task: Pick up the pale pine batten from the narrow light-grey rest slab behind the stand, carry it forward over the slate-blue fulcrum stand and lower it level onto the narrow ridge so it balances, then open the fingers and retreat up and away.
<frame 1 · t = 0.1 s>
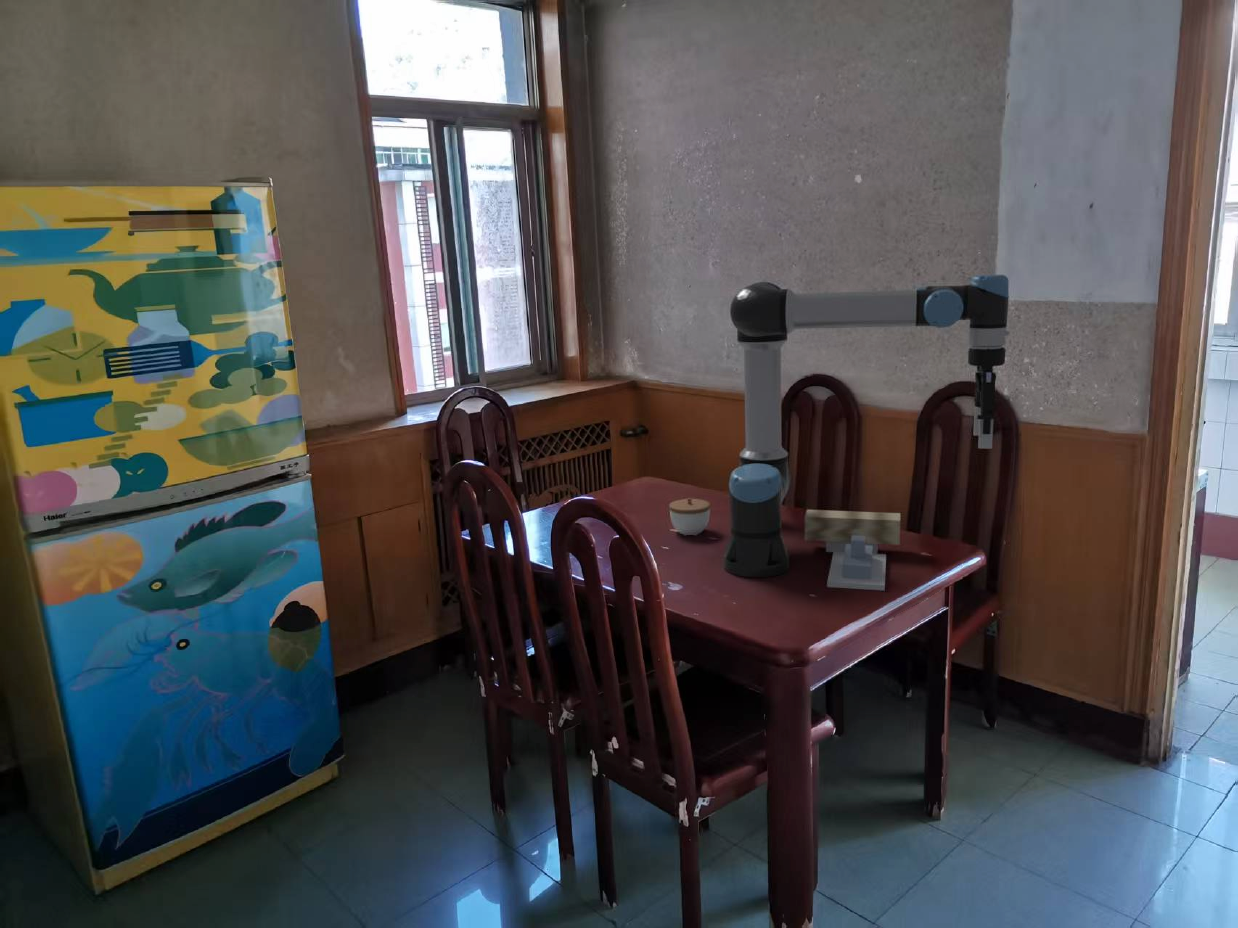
hand: (982, 441, 197), 28 cm above the table, fingers open, 13 cm apart
pine batten: (852, 538, 213), point 3 cm above the table, touching rest slab
rest slab: (851, 550, 214), on the table
milk bottle: (754, 520, 241), on the table
fulcrum stand: (857, 572, 199), on the table
lidded jar: (690, 532, 234), on the table
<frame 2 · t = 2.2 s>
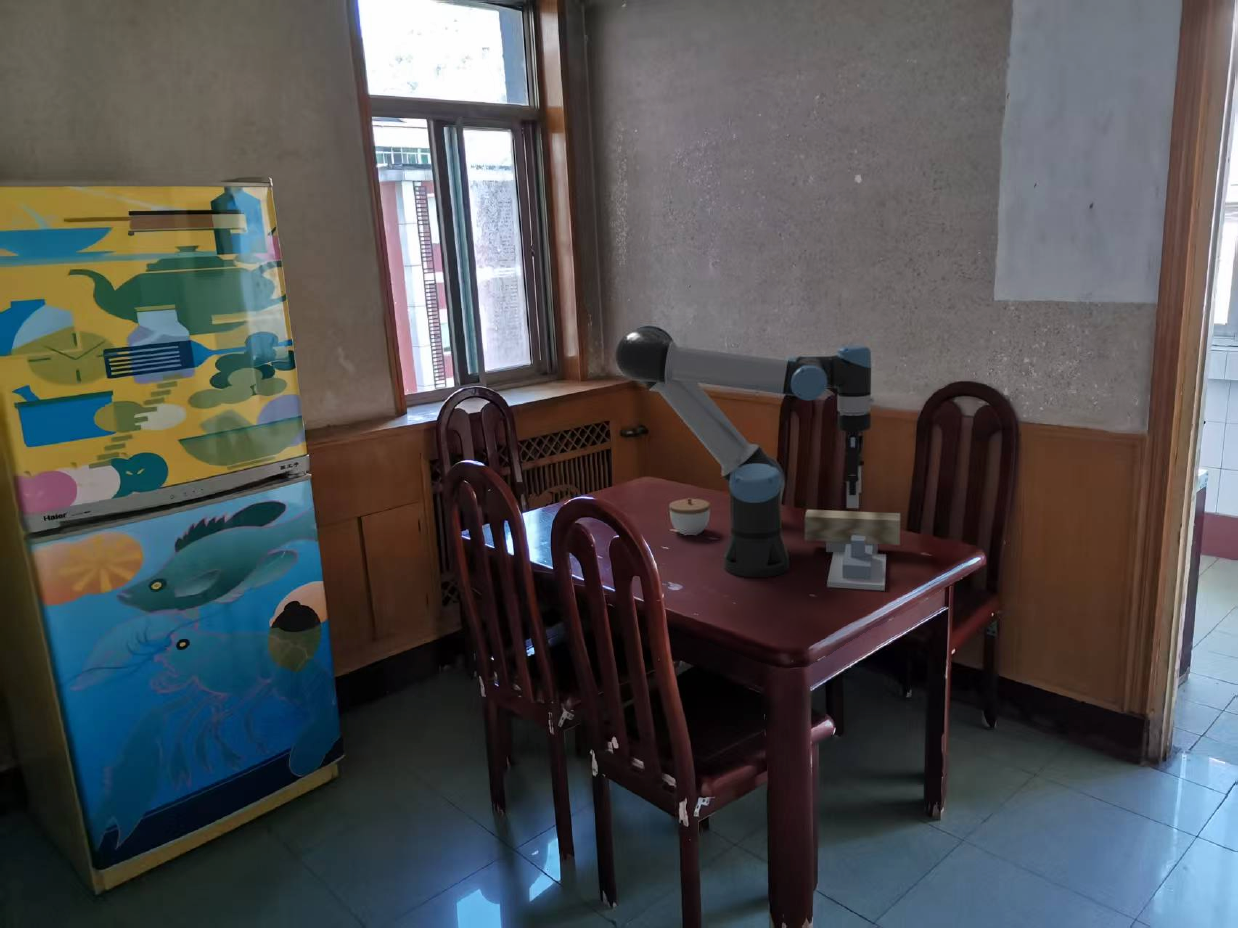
hand: (854, 499, 211), 13 cm above the table, fingers open, 13 cm apart
nothing on the table moved.
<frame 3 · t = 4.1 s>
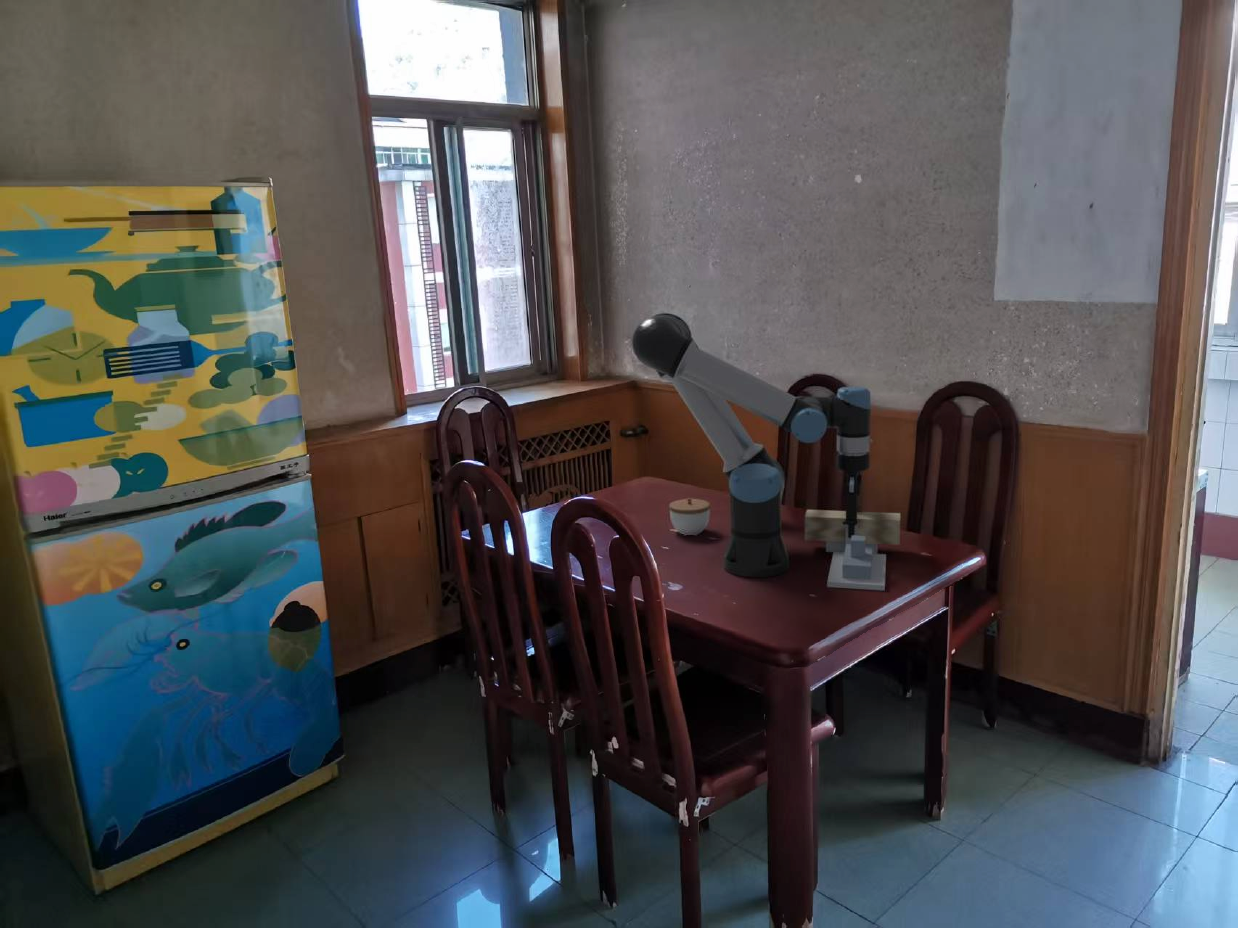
hand: (851, 544, 213), 1 cm above the table, fingers closed on pine batten, 6 cm apart
pine batten: (852, 538, 213), point 3 cm above the table, touching gripper, rest slab
everything else where it was.
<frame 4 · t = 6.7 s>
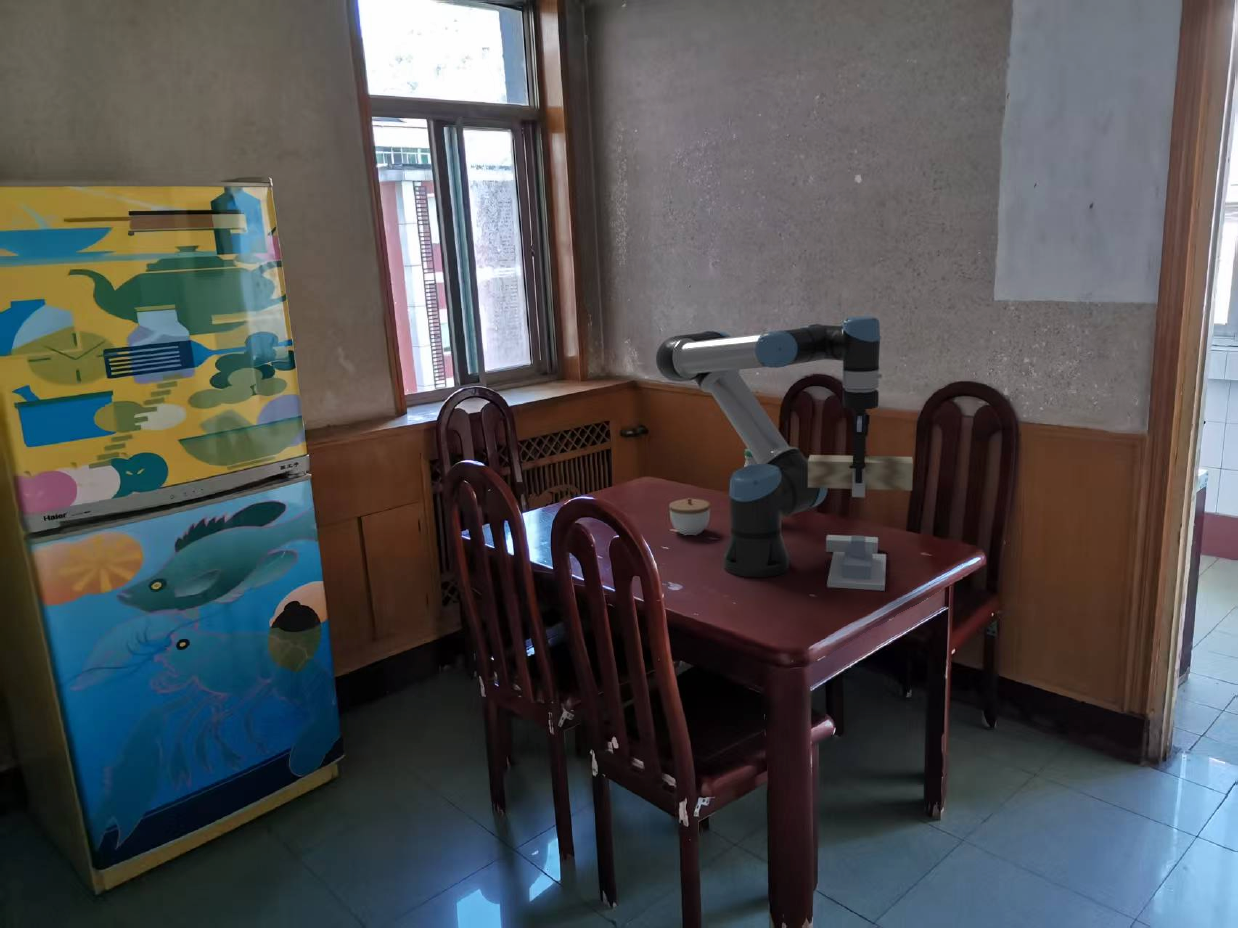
hand: (858, 492, 195), 19 cm above the table, fingers closed on pine batten, 6 cm apart
pine batten: (859, 485, 195), point 20 cm above the table, touching gripper
everything else where it was.
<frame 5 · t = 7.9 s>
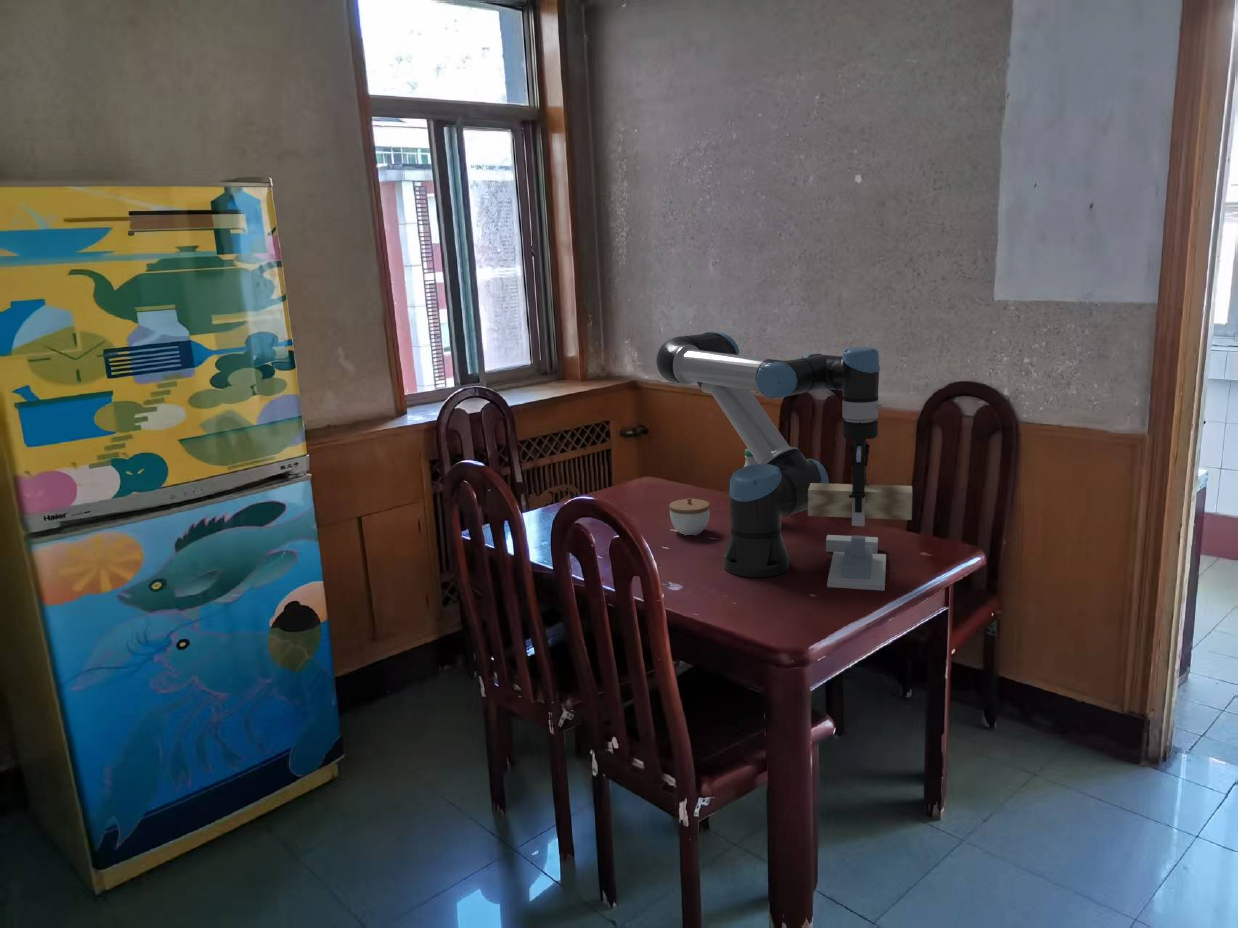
hand: (858, 520, 196), 12 cm above the table, fingers closed on pine batten, 6 cm apart
pine batten: (859, 513, 196), point 14 cm above the table, touching gripper
everything else where it was.
when the fingers open (8 cm above the table, at t = 9.1 s): pine batten drops 1 cm, resting on fulcrum stand.
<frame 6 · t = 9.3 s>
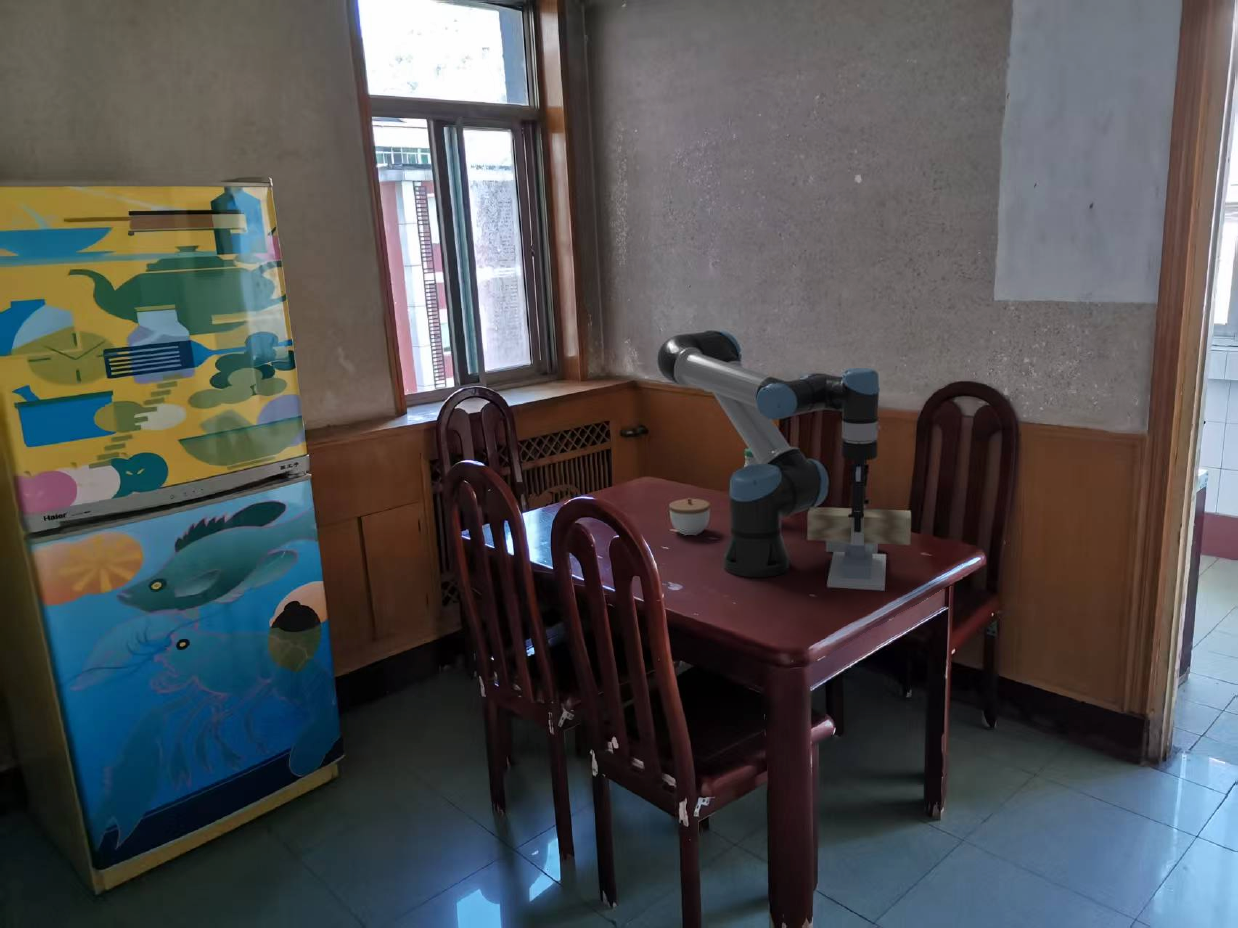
hand: (858, 538, 197), 8 cm above the table, fingers open, 8 cm apart
pine batten: (858, 538, 197), point 8 cm above the table, touching fulcrum stand
everything else where it was.
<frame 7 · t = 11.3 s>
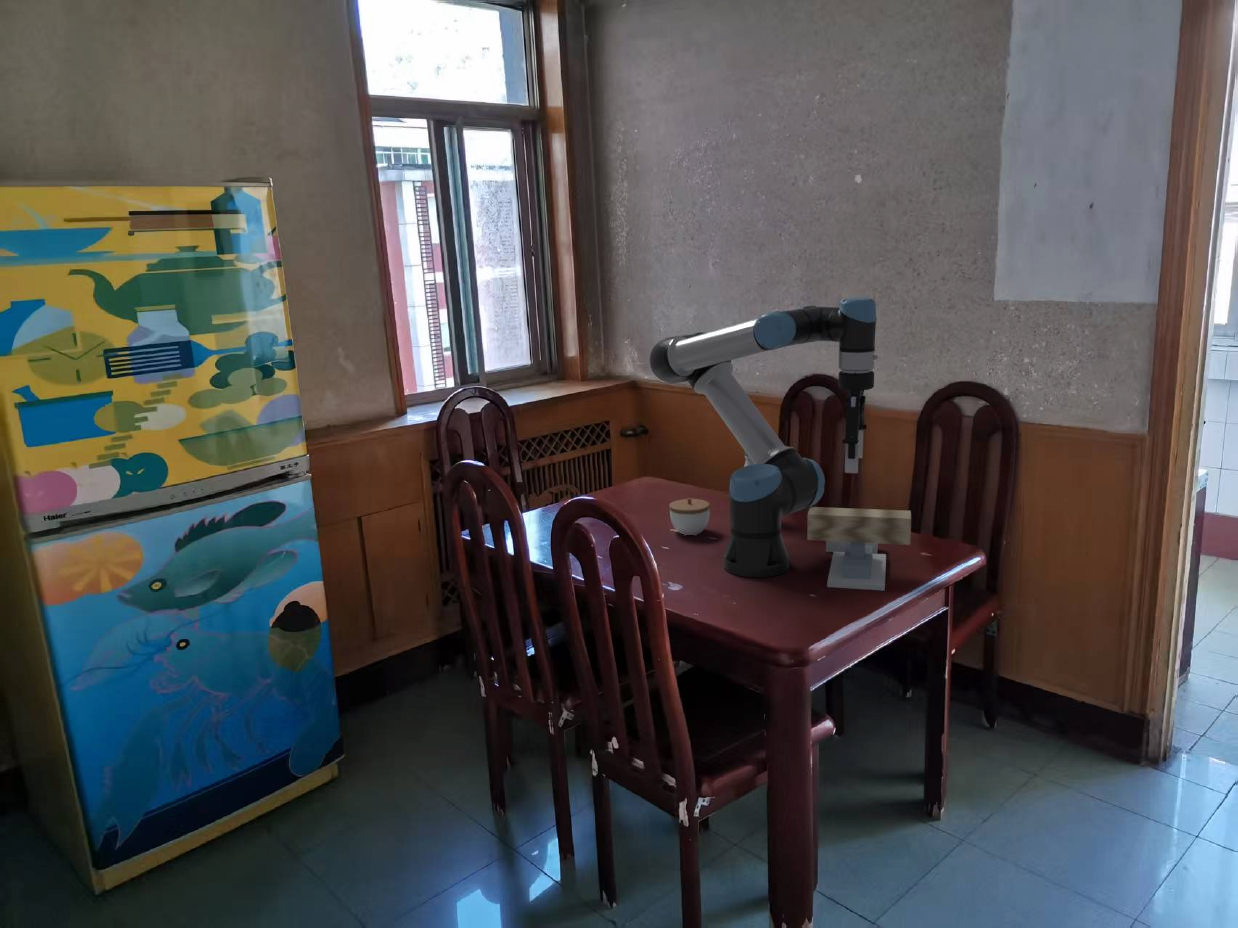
hand: (853, 465, 196), 24 cm above the table, fingers open, 13 cm apart
nothing on the table moved.
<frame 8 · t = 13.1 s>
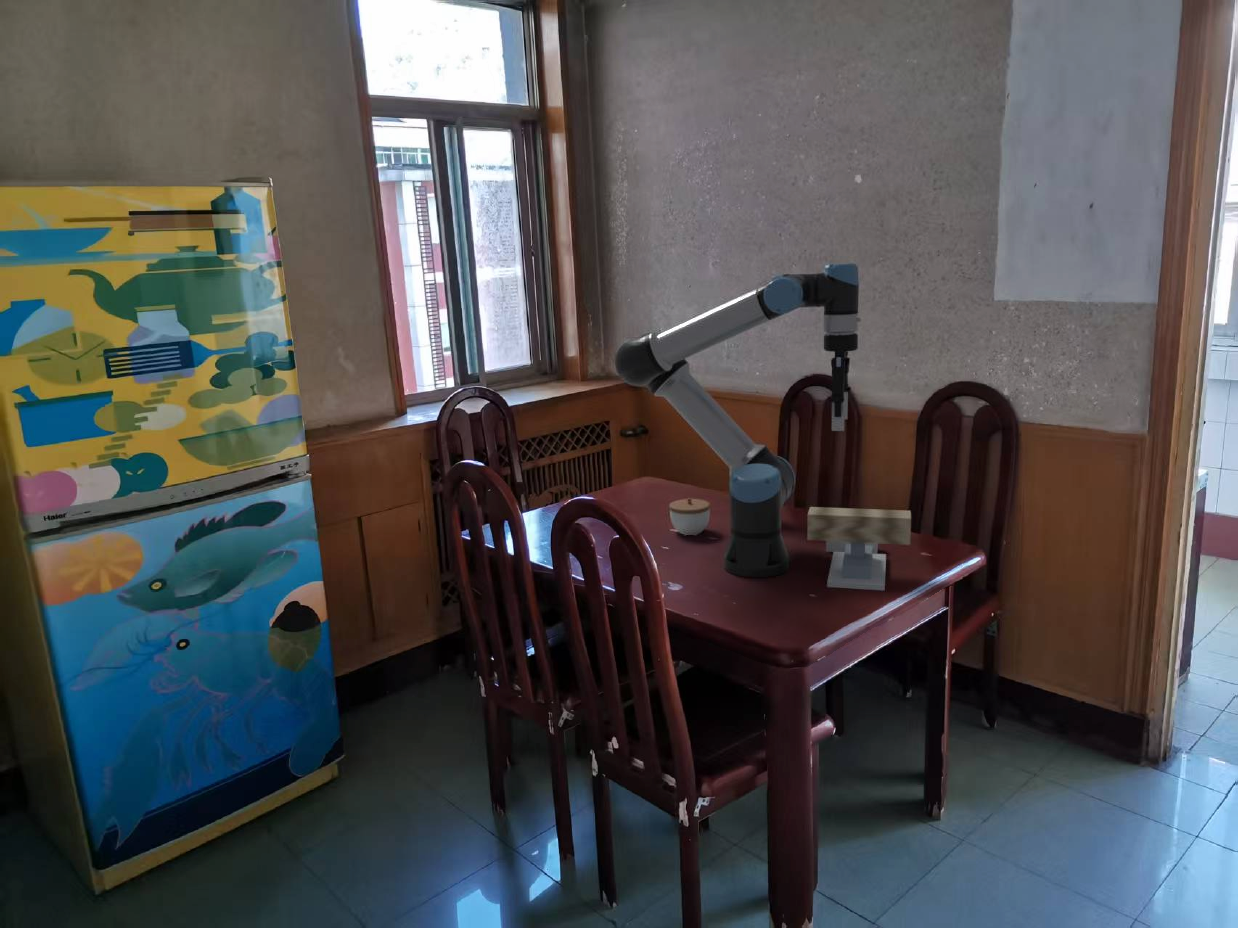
hand: (839, 424, 204), 32 cm above the table, fingers open, 13 cm apart
nothing on the table moved.
at the end: pine batten 0.1 cm off-centre on the fulcrum stand, point 8.2 cm above the fulcrum stand's base; pine batten tilted 0°; the gripper is holding nothing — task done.
